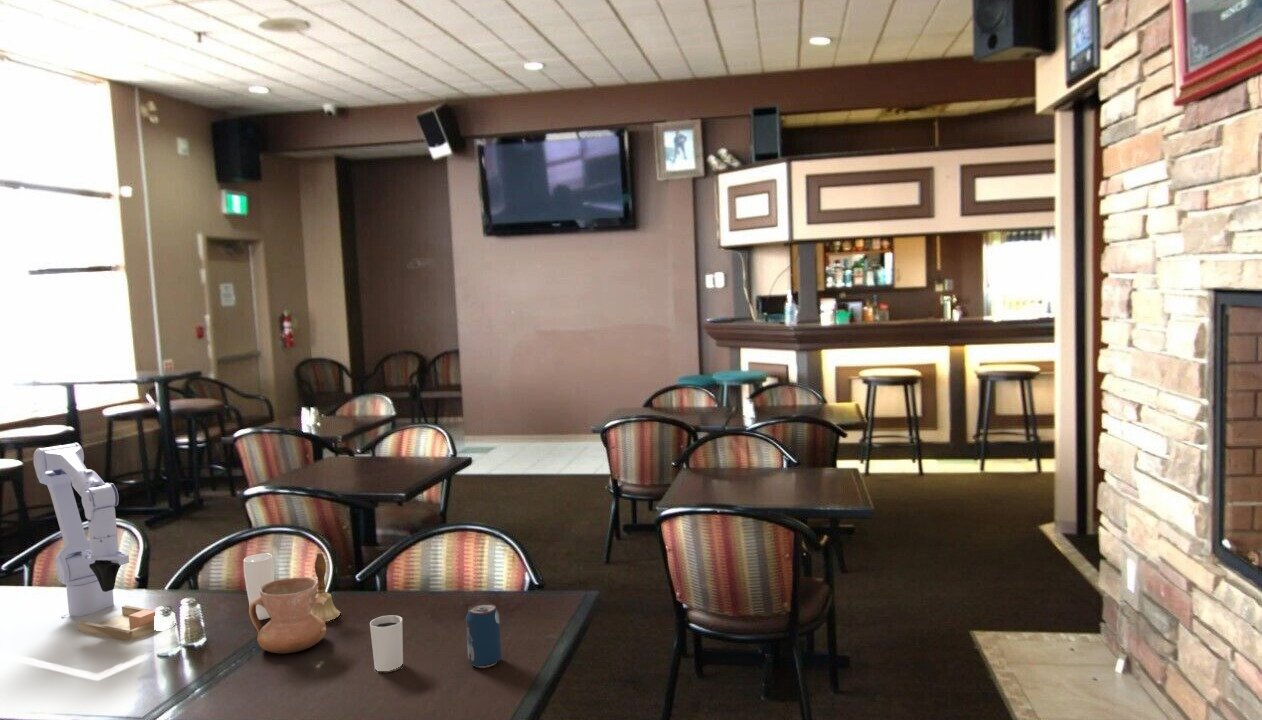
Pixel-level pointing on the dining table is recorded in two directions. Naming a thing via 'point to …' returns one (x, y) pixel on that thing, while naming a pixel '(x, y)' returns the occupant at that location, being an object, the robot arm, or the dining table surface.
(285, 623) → the ceramic jug
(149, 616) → the terracotta block
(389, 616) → the white cup
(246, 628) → the dining table surface
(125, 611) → the shallow wooden tray
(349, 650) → the dining table surface
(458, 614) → the dining table surface
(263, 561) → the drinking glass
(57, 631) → the dining table surface
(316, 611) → the hand bell
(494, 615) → the soda can
